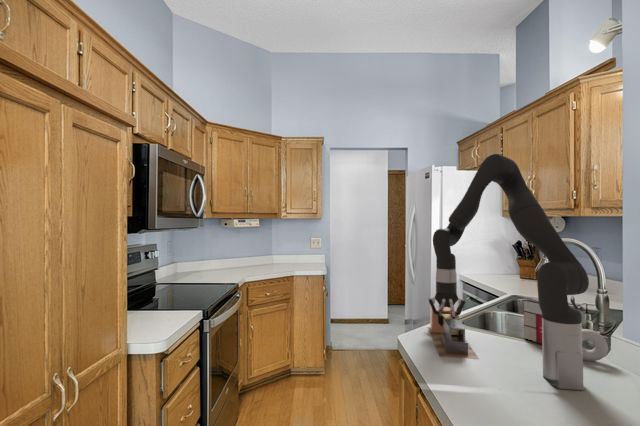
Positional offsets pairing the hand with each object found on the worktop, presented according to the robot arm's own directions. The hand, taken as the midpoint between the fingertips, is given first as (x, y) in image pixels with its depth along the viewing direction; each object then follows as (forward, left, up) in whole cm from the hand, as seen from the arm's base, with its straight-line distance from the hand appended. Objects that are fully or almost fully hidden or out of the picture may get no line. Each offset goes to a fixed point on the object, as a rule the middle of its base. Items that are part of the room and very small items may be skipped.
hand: (446, 325), depth 139 cm
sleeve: (-15, 0, -4) cm, 15 cm away
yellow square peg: (-4, 0, +1) cm, 4 cm away
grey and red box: (0, -33, -5) cm, 33 cm away
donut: (-16, -41, -5) cm, 44 cm away
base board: (-7, 0, -5) cm, 9 cm away
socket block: (+5, 0, -4) cm, 7 cm away
